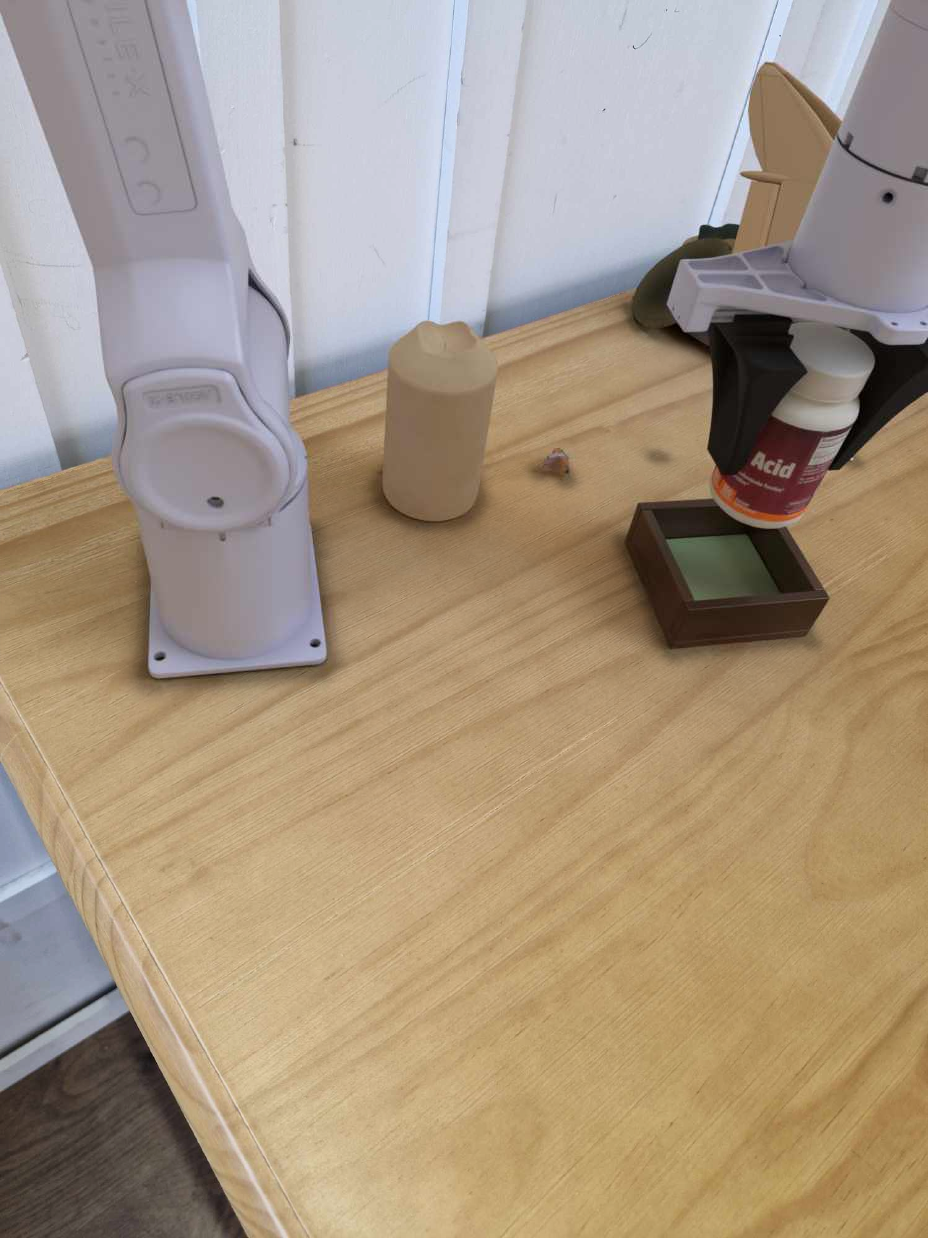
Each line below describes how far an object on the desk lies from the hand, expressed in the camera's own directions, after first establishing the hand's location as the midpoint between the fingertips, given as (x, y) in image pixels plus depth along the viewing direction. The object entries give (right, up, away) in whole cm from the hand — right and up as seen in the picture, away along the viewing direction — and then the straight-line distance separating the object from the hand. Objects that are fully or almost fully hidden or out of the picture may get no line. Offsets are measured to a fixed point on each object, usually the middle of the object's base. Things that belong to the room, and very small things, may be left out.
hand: (772, 459), depth 41 cm
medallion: (+1, +17, +22) cm, 28 cm away
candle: (-16, 0, +9) cm, 19 cm away
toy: (+10, +16, +27) cm, 33 cm away
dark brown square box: (-1, -6, +7) cm, 9 cm away
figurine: (-6, +2, +13) cm, 14 cm away
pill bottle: (0, -2, +2) cm, 3 cm away
